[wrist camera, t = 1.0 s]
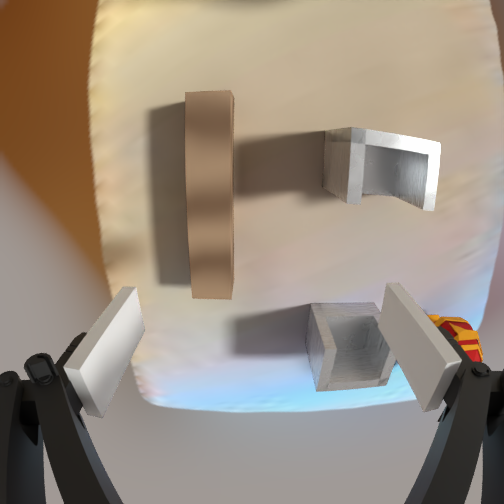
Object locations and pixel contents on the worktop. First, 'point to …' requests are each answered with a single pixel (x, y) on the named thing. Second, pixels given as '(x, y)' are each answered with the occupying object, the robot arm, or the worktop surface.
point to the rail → (210, 192)
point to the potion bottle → (461, 334)
